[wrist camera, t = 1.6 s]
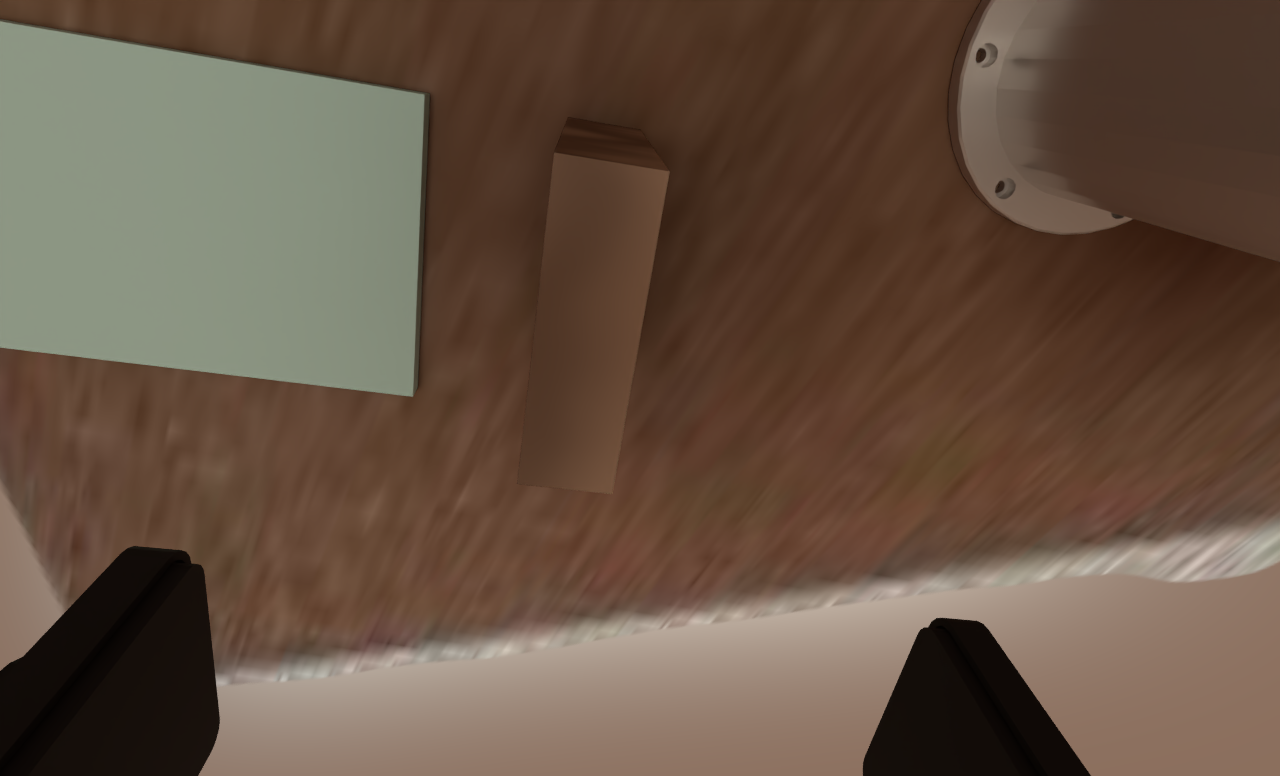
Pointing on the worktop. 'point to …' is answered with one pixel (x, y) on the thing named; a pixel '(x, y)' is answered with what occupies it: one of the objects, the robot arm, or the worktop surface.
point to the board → (590, 304)
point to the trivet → (209, 213)
